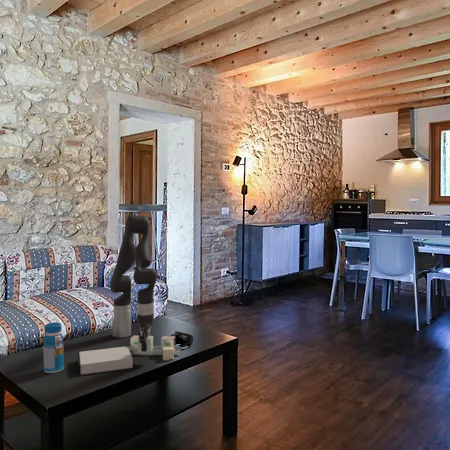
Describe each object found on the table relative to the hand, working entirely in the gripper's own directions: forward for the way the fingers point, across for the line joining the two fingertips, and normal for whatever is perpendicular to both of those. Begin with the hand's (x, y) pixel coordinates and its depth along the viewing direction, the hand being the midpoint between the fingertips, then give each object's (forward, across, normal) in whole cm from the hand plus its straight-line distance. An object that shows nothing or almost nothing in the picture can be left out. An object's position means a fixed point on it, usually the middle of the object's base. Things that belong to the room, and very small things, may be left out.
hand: (145, 349), depth 190 cm
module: (0, 0, 0) cm, 0 cm away
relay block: (+6, -6, +9) cm, 13 cm away
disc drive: (+7, +4, -18) cm, 20 cm away
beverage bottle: (+7, +12, -38) cm, 40 cm away
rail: (+6, -13, 0) cm, 14 cm away
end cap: (+7, -24, +12) cm, 28 cm away
